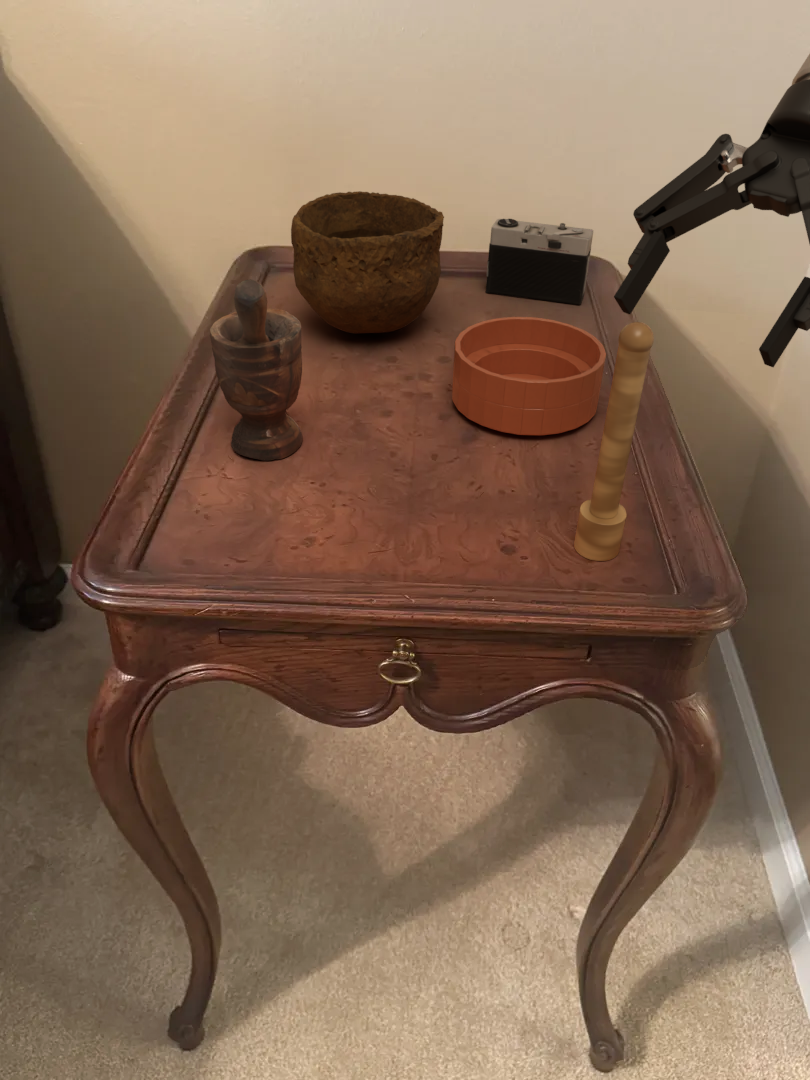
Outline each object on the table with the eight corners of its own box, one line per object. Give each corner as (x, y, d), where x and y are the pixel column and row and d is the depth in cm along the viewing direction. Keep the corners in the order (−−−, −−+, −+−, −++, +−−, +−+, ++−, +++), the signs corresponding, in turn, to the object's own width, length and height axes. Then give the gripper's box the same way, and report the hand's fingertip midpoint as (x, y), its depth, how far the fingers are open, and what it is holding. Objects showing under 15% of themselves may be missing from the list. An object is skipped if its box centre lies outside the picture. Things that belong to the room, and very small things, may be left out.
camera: (594, 286, 128) (604, 217, 121) (577, 312, 121) (586, 240, 115) (504, 271, 132) (508, 203, 126) (482, 294, 126) (486, 224, 120)
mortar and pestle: (332, 468, 89) (325, 274, 76) (251, 490, 85) (229, 290, 73) (289, 417, 97) (276, 233, 85) (213, 434, 93) (188, 246, 81)
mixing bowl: (603, 383, 104) (613, 327, 100) (586, 452, 92) (596, 392, 88) (469, 363, 108) (473, 309, 104) (435, 427, 95) (438, 368, 91)
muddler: (621, 538, 80) (667, 316, 67) (616, 565, 77) (664, 337, 64) (577, 530, 81) (614, 309, 68) (571, 556, 78) (609, 330, 65)
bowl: (453, 355, 109) (460, 235, 100) (301, 363, 107) (294, 240, 98) (427, 297, 124) (431, 187, 115) (292, 303, 122) (285, 190, 113)
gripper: (991, 168, 68) (841, 404, 69) (706, 110, 82) (584, 307, 83) (996, 101, 62) (830, 362, 63) (686, 52, 76) (555, 265, 77)
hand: (689, 331), depth 73 cm, fingers open, 13 cm apart
